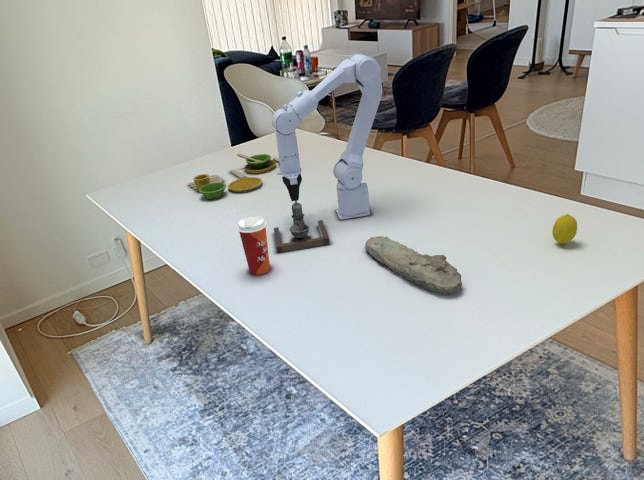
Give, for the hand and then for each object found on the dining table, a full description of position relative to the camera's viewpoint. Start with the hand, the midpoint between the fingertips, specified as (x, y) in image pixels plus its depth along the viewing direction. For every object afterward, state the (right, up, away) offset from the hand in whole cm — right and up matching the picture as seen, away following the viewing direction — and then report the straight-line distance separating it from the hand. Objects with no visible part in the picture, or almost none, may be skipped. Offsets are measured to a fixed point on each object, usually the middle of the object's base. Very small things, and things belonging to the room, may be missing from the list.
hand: (294, 200), depth 170 cm
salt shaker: (+2, -13, -4) cm, 13 cm away
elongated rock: (+29, -25, -26) cm, 47 cm away
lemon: (+67, -19, -27) cm, 75 cm away
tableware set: (-18, +20, +46) cm, 53 cm away
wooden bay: (+2, -12, -3) cm, 12 cm away
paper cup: (-10, -24, -16) cm, 30 cm away
